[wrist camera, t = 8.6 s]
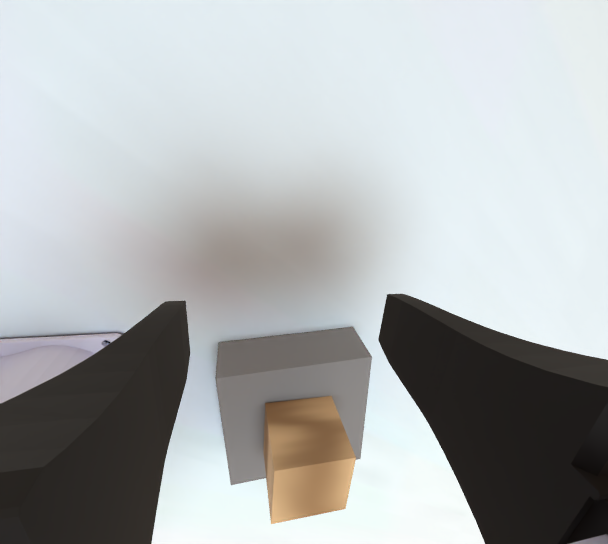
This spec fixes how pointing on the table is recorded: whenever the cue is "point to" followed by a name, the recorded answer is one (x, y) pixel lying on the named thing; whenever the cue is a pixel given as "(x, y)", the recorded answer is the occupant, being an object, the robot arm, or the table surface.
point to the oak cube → (306, 458)
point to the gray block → (287, 388)
